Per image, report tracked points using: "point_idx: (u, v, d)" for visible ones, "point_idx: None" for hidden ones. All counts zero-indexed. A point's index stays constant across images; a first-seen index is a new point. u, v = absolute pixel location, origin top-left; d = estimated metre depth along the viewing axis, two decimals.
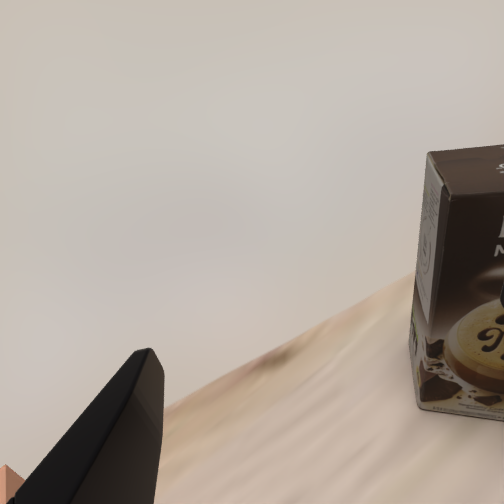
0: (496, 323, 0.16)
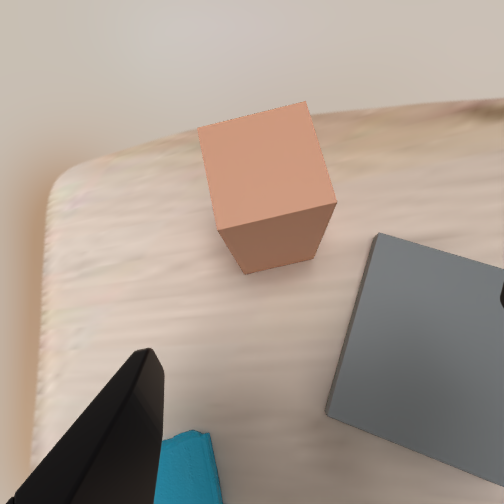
0: None
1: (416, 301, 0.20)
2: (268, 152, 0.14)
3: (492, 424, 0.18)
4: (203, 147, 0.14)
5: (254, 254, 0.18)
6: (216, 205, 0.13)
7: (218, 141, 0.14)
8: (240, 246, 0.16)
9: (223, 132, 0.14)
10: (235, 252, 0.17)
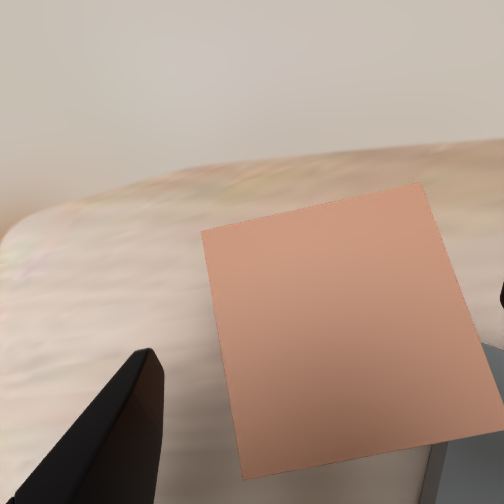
0: None
1: None
2: (349, 294, 0.07)
3: None
4: (213, 275, 0.07)
5: None
6: (240, 415, 0.06)
7: (243, 263, 0.07)
8: None
9: (253, 243, 0.07)
10: None
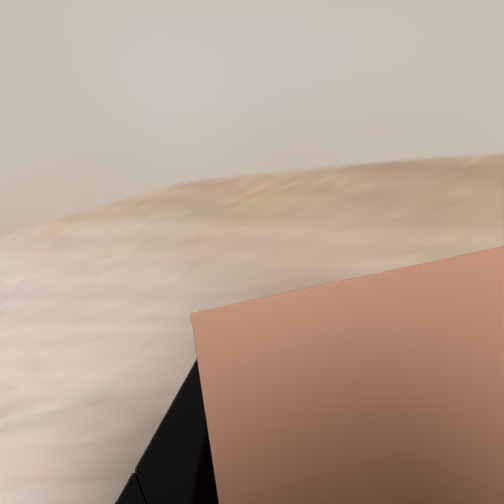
0: None
1: None
2: (412, 420, 0.04)
3: None
4: (207, 384, 0.05)
5: None
6: None
7: (252, 365, 0.05)
8: None
9: (266, 334, 0.05)
10: None
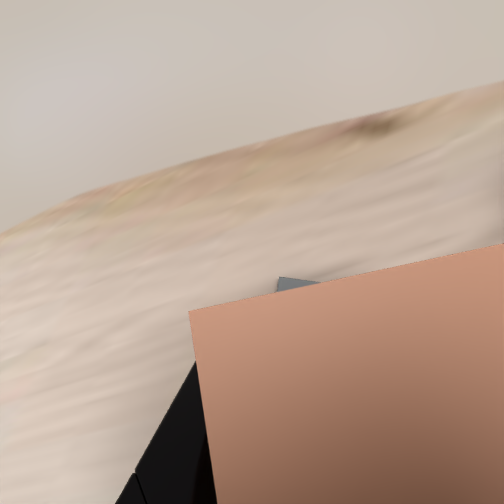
0: None
1: None
2: (410, 418, 0.04)
3: None
4: (206, 381, 0.05)
5: None
6: None
7: (250, 363, 0.05)
8: None
9: (265, 332, 0.05)
10: None
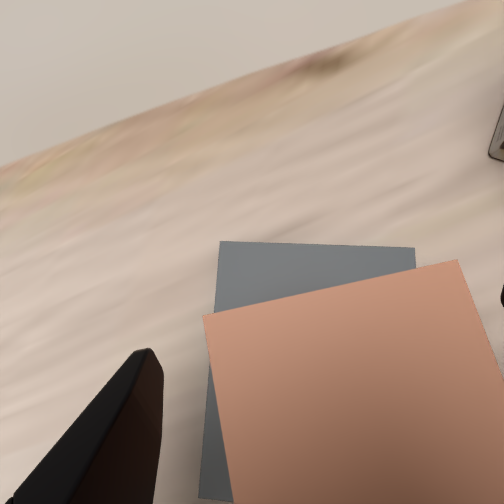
0: None
1: None
2: (378, 398, 0.06)
3: None
4: (217, 372, 0.06)
5: None
6: None
7: (253, 356, 0.06)
8: None
9: (264, 332, 0.06)
10: None
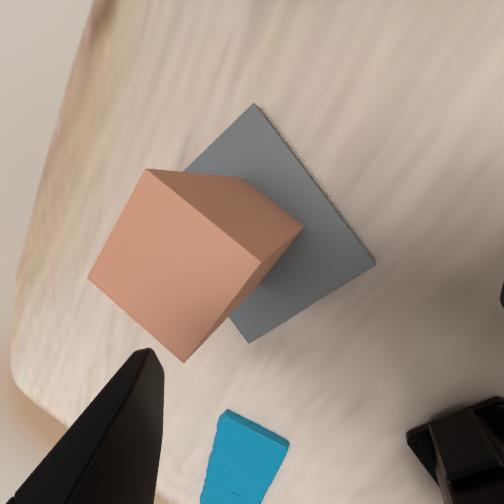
0: None
1: None
2: (161, 255, 0.11)
3: (327, 238, 0.19)
4: (107, 293, 0.12)
5: (244, 296, 0.16)
6: (164, 341, 0.12)
7: (113, 277, 0.12)
8: (223, 320, 0.14)
9: (109, 265, 0.12)
10: None
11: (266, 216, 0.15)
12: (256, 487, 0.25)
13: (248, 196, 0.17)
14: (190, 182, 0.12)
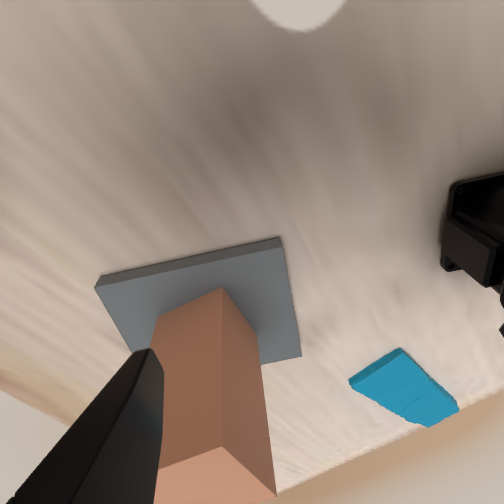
0: None
1: None
2: (186, 491, 0.13)
3: (241, 273, 0.20)
4: None
5: (255, 384, 0.18)
6: (253, 502, 0.14)
7: None
8: (263, 424, 0.17)
9: None
10: (264, 412, 0.18)
11: (196, 347, 0.17)
12: (421, 383, 0.28)
13: (174, 343, 0.18)
14: None
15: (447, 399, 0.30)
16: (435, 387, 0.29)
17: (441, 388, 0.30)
